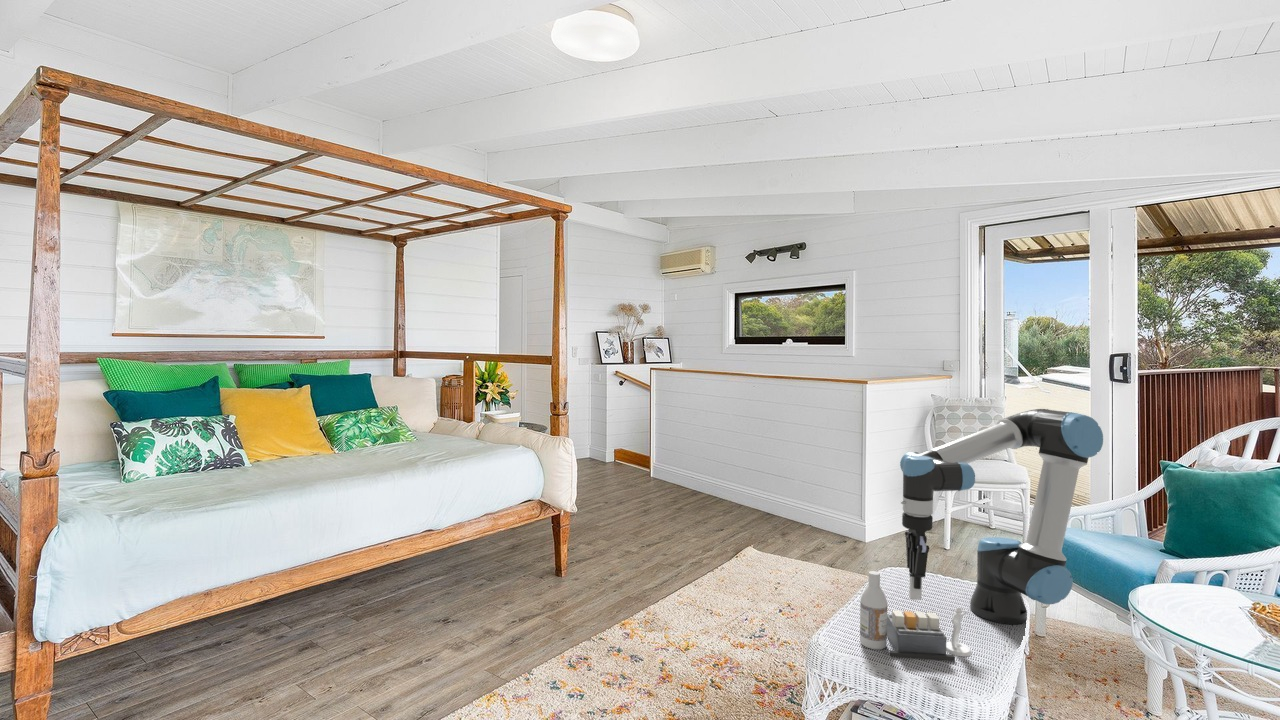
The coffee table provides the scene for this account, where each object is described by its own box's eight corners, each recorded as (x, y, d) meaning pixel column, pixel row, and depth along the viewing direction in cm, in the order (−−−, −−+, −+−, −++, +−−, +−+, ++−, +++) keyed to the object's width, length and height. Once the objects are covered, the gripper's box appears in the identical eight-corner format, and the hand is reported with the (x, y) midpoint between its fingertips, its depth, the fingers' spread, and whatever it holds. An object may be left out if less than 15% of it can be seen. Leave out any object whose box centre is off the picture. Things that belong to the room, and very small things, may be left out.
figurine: (964, 659, 161) (965, 614, 160) (937, 648, 166) (938, 605, 166) (976, 651, 165) (977, 607, 164) (950, 640, 171) (951, 598, 170)
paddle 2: (911, 622, 169) (911, 611, 168) (915, 628, 165) (915, 617, 165) (903, 621, 169) (903, 611, 169) (907, 627, 165) (907, 616, 165)
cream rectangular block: (934, 623, 168) (934, 612, 168) (939, 629, 164) (939, 618, 164) (926, 623, 168) (926, 612, 168) (930, 629, 165) (930, 618, 164)
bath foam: (876, 652, 164) (877, 579, 163) (854, 642, 169) (855, 571, 169) (891, 645, 167) (893, 574, 167) (870, 635, 173) (871, 566, 172)
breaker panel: (930, 637, 172) (930, 614, 172) (945, 659, 160) (946, 635, 160) (886, 634, 174) (886, 611, 173) (898, 656, 162) (898, 632, 162)
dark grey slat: (953, 659, 161) (953, 654, 161) (954, 661, 159) (954, 656, 159) (889, 654, 163) (889, 650, 163) (891, 657, 161) (891, 652, 161)
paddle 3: (923, 622, 168) (923, 612, 168) (927, 628, 165) (927, 617, 165) (914, 622, 168) (914, 611, 168) (918, 628, 165) (919, 617, 165)
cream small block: (900, 621, 169) (900, 610, 169) (904, 627, 165) (904, 616, 165) (892, 620, 169) (892, 610, 169) (895, 626, 166) (895, 616, 166)
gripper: (896, 506, 173) (894, 588, 173) (910, 519, 160) (908, 608, 161) (923, 507, 172) (921, 589, 172) (940, 521, 159) (938, 609, 160)
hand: (915, 598), depth 166 cm, fingers closed
